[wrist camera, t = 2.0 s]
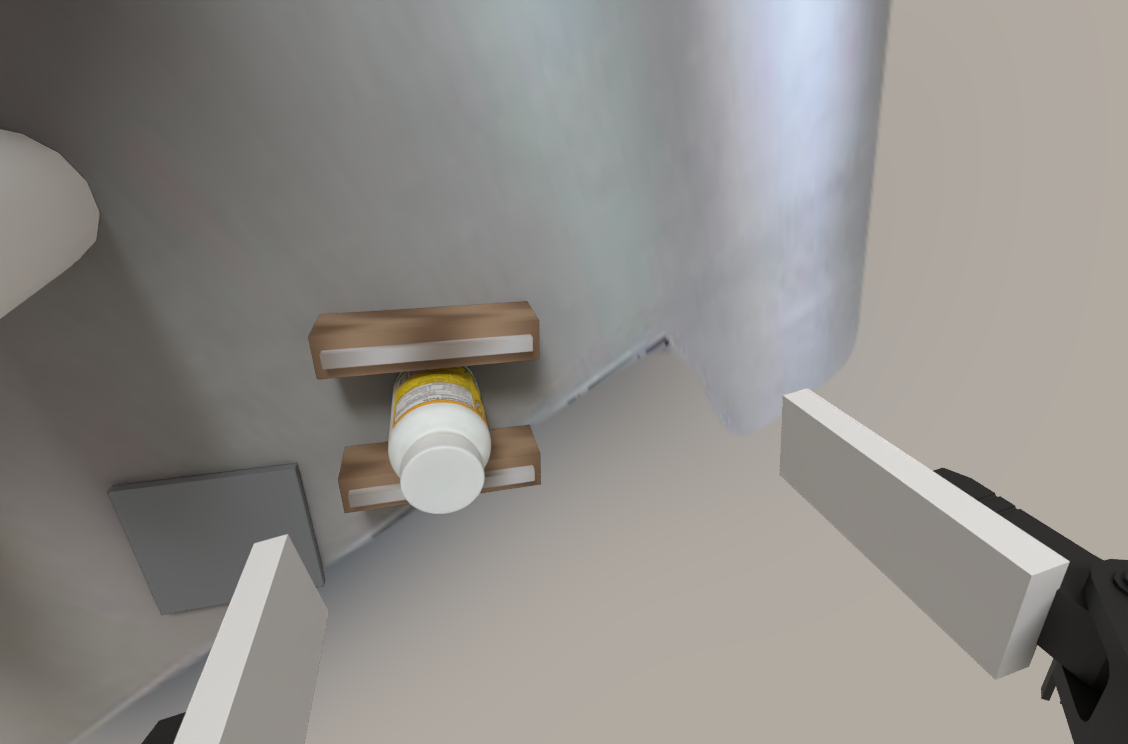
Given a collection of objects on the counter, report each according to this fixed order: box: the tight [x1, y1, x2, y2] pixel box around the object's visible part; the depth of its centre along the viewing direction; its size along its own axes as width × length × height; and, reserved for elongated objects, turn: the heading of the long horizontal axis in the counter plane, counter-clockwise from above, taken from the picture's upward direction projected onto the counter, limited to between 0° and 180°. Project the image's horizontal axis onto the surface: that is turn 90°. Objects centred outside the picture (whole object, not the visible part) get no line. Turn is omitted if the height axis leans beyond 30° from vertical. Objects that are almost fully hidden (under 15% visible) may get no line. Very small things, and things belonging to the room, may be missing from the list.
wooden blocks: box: [308, 301, 541, 513], centre depth 32 cm, size 12×11×4 cm
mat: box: [107, 463, 325, 615], centre depth 34 cm, size 10×10×1 cm
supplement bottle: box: [388, 366, 491, 514], centre depth 29 cm, size 5×5×10 cm
